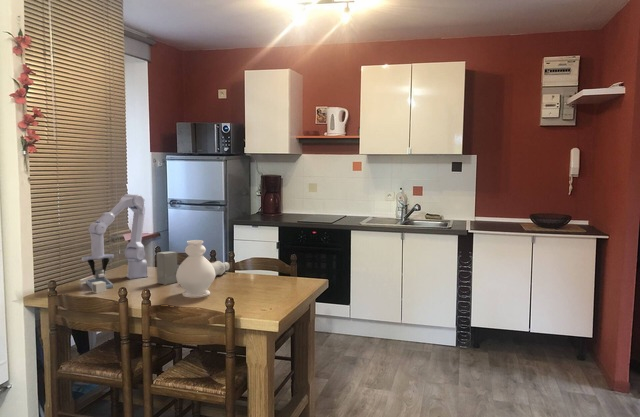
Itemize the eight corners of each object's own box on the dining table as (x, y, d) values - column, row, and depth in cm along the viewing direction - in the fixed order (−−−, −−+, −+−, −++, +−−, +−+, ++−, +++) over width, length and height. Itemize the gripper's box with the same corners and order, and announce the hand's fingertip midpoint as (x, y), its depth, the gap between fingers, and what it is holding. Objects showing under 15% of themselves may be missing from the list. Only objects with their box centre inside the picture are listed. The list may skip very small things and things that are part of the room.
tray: (85, 283, 260) (85, 279, 260) (105, 280, 265) (104, 277, 265) (92, 290, 246) (92, 286, 246) (113, 287, 251) (113, 284, 251)
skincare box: (164, 285, 256) (164, 254, 255) (156, 283, 261) (155, 252, 259) (178, 282, 263) (178, 251, 262) (170, 280, 267) (169, 250, 266)
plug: (92, 275, 258) (91, 267, 258) (100, 274, 261) (100, 266, 260) (97, 280, 248) (97, 272, 248) (106, 279, 251) (106, 271, 250)
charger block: (101, 290, 247) (101, 280, 247) (106, 291, 245) (105, 282, 244) (91, 292, 244) (91, 282, 243) (96, 293, 241) (96, 284, 241)
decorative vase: (197, 301, 228) (196, 245, 226) (168, 296, 237) (166, 242, 235) (223, 292, 244) (222, 240, 241) (195, 287, 253) (194, 237, 250)
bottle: (199, 279, 256) (235, 269, 283) (191, 263, 257) (228, 255, 284) (188, 287, 260) (224, 277, 286) (180, 271, 261) (217, 262, 288)
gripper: (83, 249, 246) (84, 277, 248) (115, 246, 254) (116, 273, 256) (80, 247, 252) (81, 274, 253) (111, 244, 260) (112, 271, 262)
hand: (98, 274), depth 255 cm, fingers closed on plug, 4 cm apart
